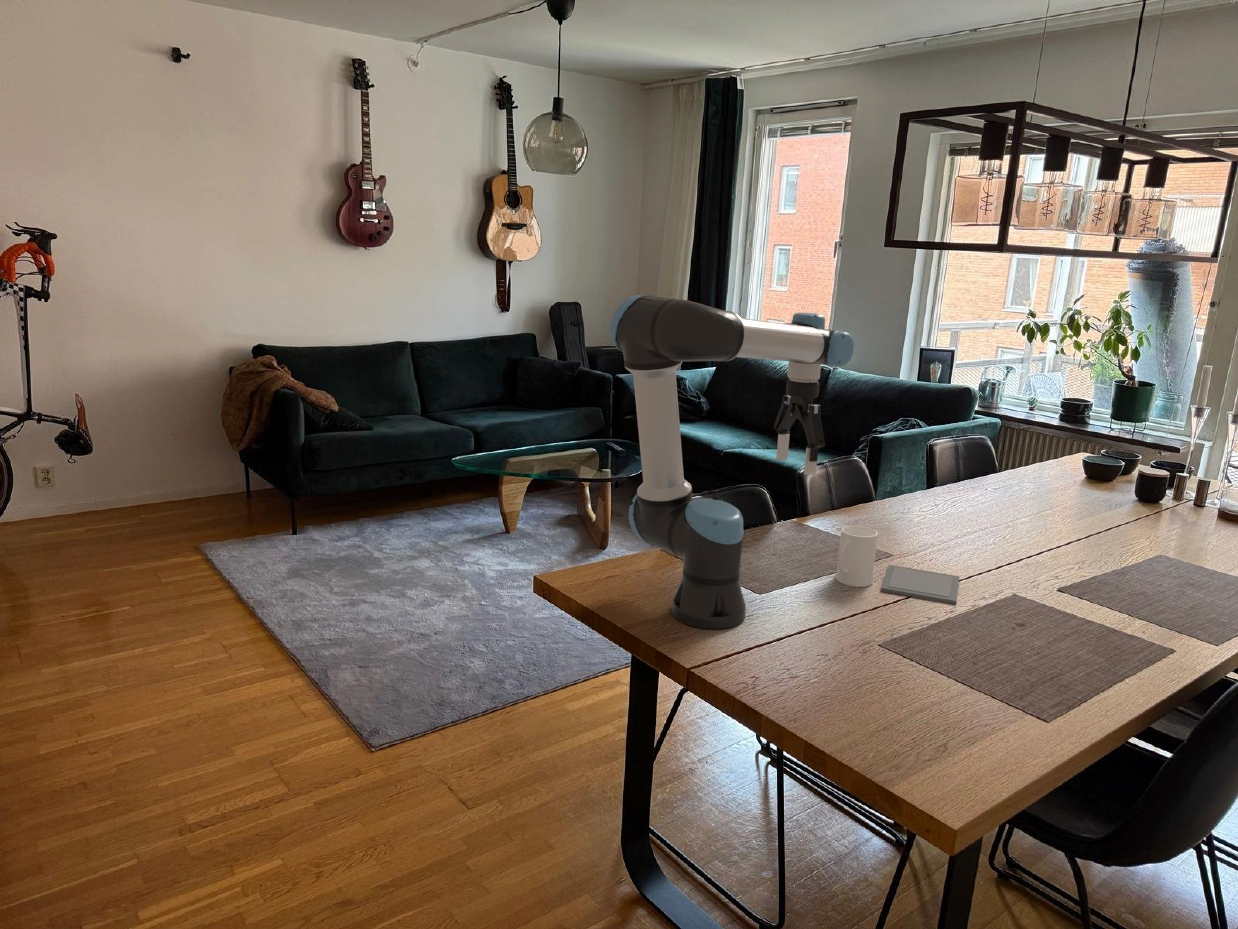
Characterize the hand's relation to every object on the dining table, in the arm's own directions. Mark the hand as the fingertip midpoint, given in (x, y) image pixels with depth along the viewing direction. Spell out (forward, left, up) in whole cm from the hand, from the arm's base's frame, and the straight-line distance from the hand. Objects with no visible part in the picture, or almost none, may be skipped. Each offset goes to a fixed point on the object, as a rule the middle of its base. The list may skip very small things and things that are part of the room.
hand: (795, 466), depth 214 cm
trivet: (0, -32, -23) cm, 39 cm away
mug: (-8, -18, -23) cm, 30 cm away
